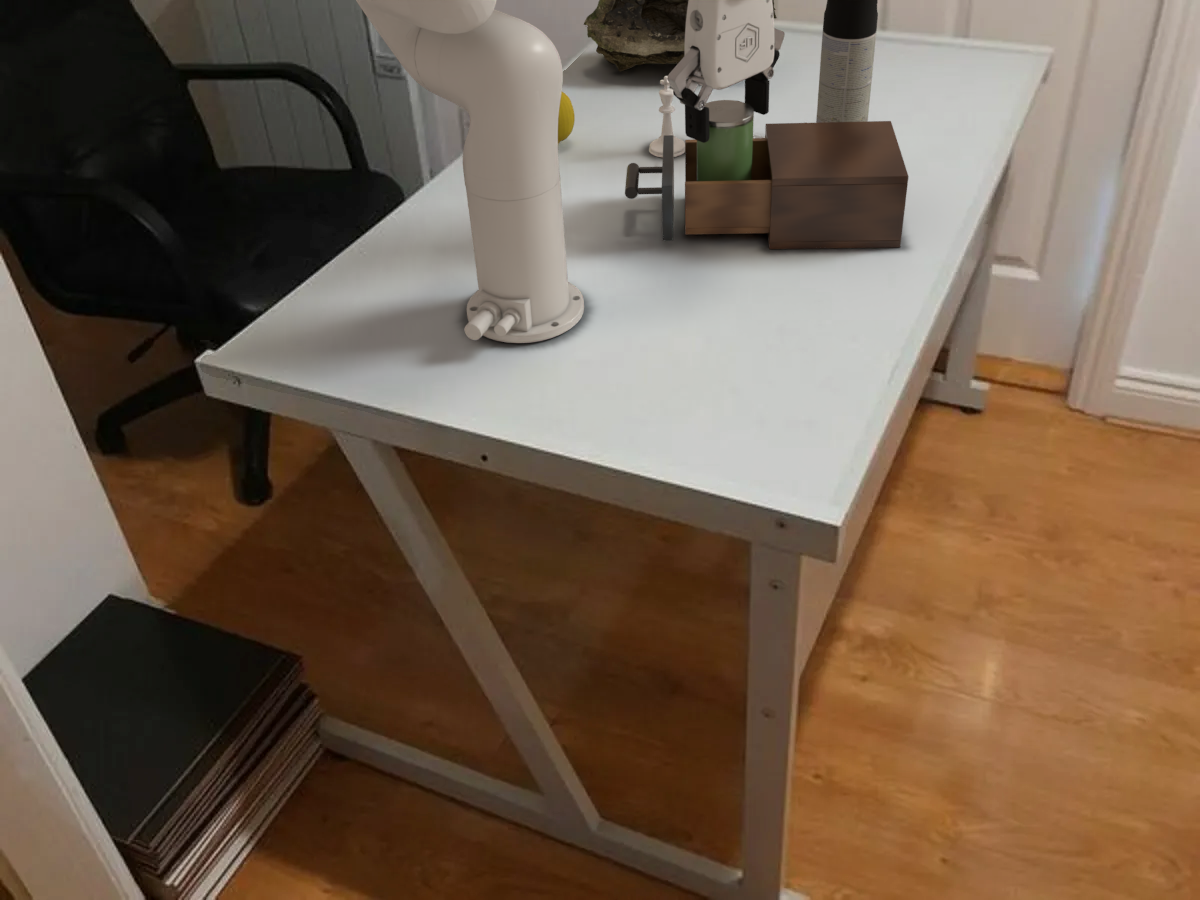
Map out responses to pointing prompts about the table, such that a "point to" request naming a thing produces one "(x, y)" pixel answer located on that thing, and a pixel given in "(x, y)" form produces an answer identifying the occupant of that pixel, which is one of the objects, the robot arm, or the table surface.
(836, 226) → the cabinet
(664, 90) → the chess piece
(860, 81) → the spray can
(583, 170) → the table surface
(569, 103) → the lemon
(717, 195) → the drawer
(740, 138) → the tin can
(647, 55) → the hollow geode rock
